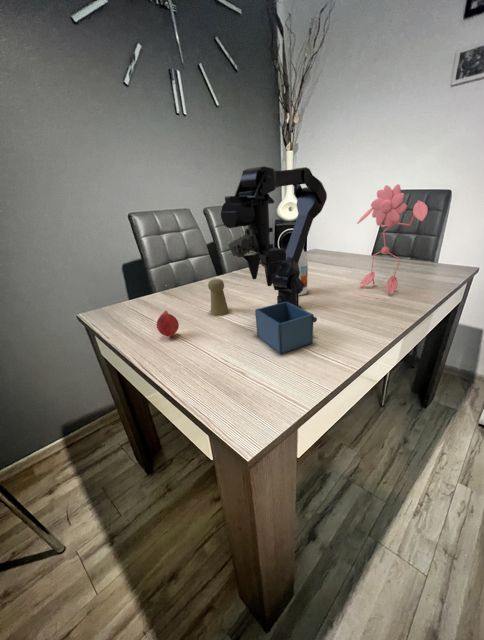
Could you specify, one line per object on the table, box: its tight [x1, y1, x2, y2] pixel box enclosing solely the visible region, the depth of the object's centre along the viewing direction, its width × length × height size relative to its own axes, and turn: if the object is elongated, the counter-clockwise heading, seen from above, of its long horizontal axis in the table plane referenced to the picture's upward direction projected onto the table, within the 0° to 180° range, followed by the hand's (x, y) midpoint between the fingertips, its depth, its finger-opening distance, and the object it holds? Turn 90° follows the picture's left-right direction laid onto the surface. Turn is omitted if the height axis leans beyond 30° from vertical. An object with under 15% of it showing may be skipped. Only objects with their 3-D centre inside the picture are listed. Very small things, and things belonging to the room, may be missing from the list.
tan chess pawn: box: [207, 278, 229, 316], centre depth 91 cm, size 6×6×11 cm
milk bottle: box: [298, 247, 309, 296], centre depth 103 cm, size 8×8×20 cm
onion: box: [156, 310, 180, 338], centre depth 77 cm, size 6×6×8 cm
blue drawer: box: [254, 301, 318, 355], centre depth 72 cm, size 13×12×8 cm
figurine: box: [354, 183, 429, 300], centre depth 95 cm, size 15×26×35 cm, turn 34°
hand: (261, 282), depth 80 cm, fingers open, 9 cm apart
